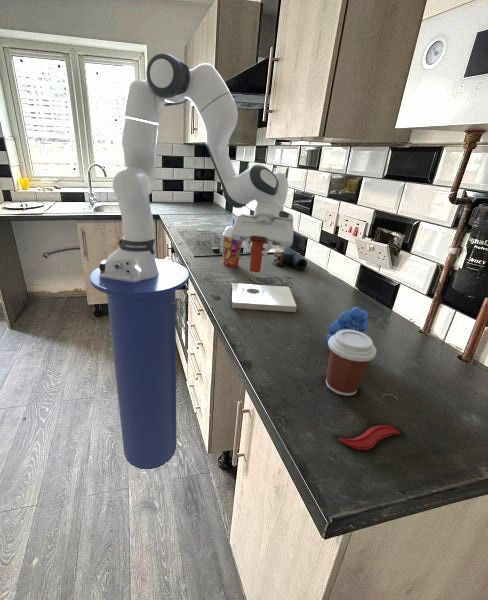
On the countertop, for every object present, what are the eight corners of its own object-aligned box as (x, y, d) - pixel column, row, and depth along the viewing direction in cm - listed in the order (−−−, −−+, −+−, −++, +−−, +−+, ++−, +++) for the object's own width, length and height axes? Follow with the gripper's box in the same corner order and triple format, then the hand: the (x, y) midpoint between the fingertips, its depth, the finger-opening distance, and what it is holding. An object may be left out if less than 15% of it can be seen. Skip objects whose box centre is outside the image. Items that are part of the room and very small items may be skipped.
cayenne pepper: (343, 450, 54) (345, 442, 53) (332, 428, 58) (334, 420, 57) (411, 448, 55) (414, 440, 54) (395, 427, 59) (398, 419, 58)
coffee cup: (310, 377, 71) (320, 330, 66) (341, 368, 75) (353, 323, 70) (341, 405, 64) (355, 355, 59) (373, 393, 67) (389, 345, 62)
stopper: (247, 272, 104) (250, 239, 99) (246, 267, 108) (249, 235, 104) (263, 273, 103) (267, 240, 99) (262, 268, 108) (265, 236, 103)
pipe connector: (281, 258, 133) (270, 248, 146) (280, 270, 135) (269, 259, 148) (308, 258, 134) (294, 248, 148) (305, 270, 137) (293, 259, 150)
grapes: (348, 338, 87) (359, 298, 82) (367, 351, 82) (379, 309, 76) (312, 344, 84) (321, 303, 79) (329, 359, 78) (340, 315, 73)
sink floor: (231, 307, 101) (232, 302, 100) (232, 288, 116) (232, 283, 115) (295, 312, 100) (296, 306, 99) (288, 291, 115) (289, 286, 114)
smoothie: (227, 261, 144) (230, 215, 135) (243, 265, 139) (247, 218, 131) (217, 265, 137) (219, 218, 129) (234, 270, 133) (237, 221, 125)
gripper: (235, 208, 107) (223, 243, 103) (297, 215, 101) (287, 253, 97) (238, 219, 113) (227, 253, 109) (297, 226, 106) (288, 263, 102)
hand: (256, 253), depth 103 cm, fingers closed on stopper, 3 cm apart
